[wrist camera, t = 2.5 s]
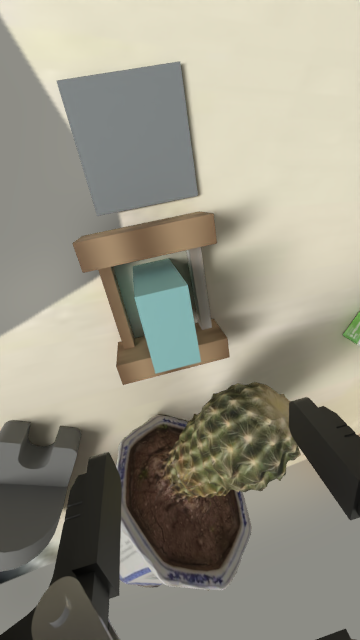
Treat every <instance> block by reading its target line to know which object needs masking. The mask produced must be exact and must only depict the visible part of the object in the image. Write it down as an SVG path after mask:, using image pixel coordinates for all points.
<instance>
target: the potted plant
mask: <svg viewBox="0 0 360 640" xmlns="http://www.w3.org/2000/svg"><path fill="white" fill-rule="evenodd" d="M289 403H290V401H289V400H288V399H286V398H285V396H284V394H278V393H277V392H275V391H274V390H273V389H271V388H270V387H269V386H267V385H264V384H260V383H257V382H254V383H251V384H249V385H242V384H239V383H237V384H236V385H232V386H230V387H229V388H228V389H227V390H225V391H222V392H219V393H217V394H213V396H212V399H211V400H210V401H209V402H208V403H207V404H206V405H205V406H203V408H202V411H201V413H200V414H198V415H196V414H194V416H193V419H192V420H190V421H189V422H186V421H184V420H178V419H176V418H173V417H168V416H163V415H156V416H154V417H152V418H150V419H149V420H148V421H147V422H146V423H144V424H143V425H142V426H140V427H138V428H137V429H135V430H133V431H132V432H131V433H130V434H129V435H128V436H127V437H125V438H124V439H123V440H122V442H121V443H120V444H119V447H118V459H117V464H116V468H117V470H118V472H119V475H120V479H121V486H122V499H121V540H120V580H121V581H122V582H124V583H126V584H131V585H138V586H143V587H158V586H160V585H161V584H163V583H164V584H166V585H168V586H176V587H188V588H194V589H203V590H207V591H209V590H224V589H225V588H226V587H227V586H229V585H230V583H231V581H232V580H233V578H234V576H235V574H236V573H237V570H238V567H239V564H240V561H241V558H242V555H243V552H244V550H245V548H246V545H247V543H248V541H249V538H250V535H251V529H252V527H251V523H250V518H249V514H248V510H247V507H246V503H245V498H244V495H243V493H242V492H246V491H248V490H251V489H252V490H258V491H262V490H263V489H264V488H265V487H267V484H268V483H269V482H270V481H272V480H274V479H278V480H279V481H280V480H281V479H282V477H283V476H284V475H285V474H286V464H287V462H288V461H289V460H295V459H296V458H297V457H299V456H300V455H301V454H300V451H299V448H298V445H297V443H296V442H295V440H294V439H293V437H292V435H291V432H290V429H289Z"/></svg>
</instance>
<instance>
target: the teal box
mask: <svg viewBox="0 0 360 640" xmlns="http://www.w3.org/2000/svg"><path fill="white" fill-rule="evenodd" d="M133 282H134V298H135V302H136V305H137V309H138V312H139V316H140V320H141V323H142V327H143V330H144V334H145V338H146V341H147V345H148V349H149V352H150V356H151V359H152V363H153V367H154V370H155V374H157V373H160V372H164V371H168V370H172V369H176V368H180V367H184V366H187V365H191V364H195V363H199V362H201V358H200V353H199V347H198V341H197V335H196V330H195V324H194V318H193V312H192V306H191V301H190V295H189V289H188V285H187V283H186V282H185V280H184V279H183V278H182V276H181V275H180V273H179V272H178V271H177V269H176V268H175V266H174V265H173V263H172V262H171V261H170V259H169V258H168V259H164V260H159V261H155V262H150V263H146V264H141V265H137V266H133Z"/></svg>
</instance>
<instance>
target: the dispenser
mask: <svg viewBox="0 0 360 640" xmlns="http://www.w3.org/2000/svg"><path fill="white" fill-rule="evenodd" d="M216 243H217V240H216V231H215V222H214V214H213V213H205V212H195V213H190V214H186V215H181V216H176V217H171V218H166V219H162V220H157V221H152V222H147V223H142V224H138V225H133V226H128V227H123V228H119V229H114V230H109V231H104V232H99V233H95V234H90V235H85V236H82V237H80V238H79V239H78V240H76V241H75V242H73V246H74V249H75V252H76V255H77V257H78V260H79V263H80V266H81V269H82V272H89V271H93V270H99V273H100V276H101V279H102V282H103V286H104V289H105V292H106V295H107V298H108V301H109V304H110V307H111V310H112V313H113V316H114V319H115V322H116V325H117V328H118V331H119V334H120V337H121V340H122V342H118V351H117V364H116V367H117V370H118V372H119V375H120V378H121V381H122V384H123V385H125V384H129V383H132V382H136V381H140V380H144V379H148V378H152V377H155V376H159V375H163V374H167V373H171V372H175V371H178V370H182V369H186V368H190V367H194V366H198V365H201V364H205V363H209V362H213V361H217V360H221V359H224V358H228V357H229V348H228V339H227V337H226V335H225V334H224V333H223V331H222V330H221V328H220V327H219V326H218V324H217V323H216V322H215V320H214V319H211V316H210V309H209V302H208V295H207V287H206V280H205V273H204V266H203V259H202V252H201V247H202V246H207V245H211V244H216ZM184 250H186V253H187V259H188V265H189V271H190V277H191V283H192V289H193V295H194V301H195V307H196V313H197V319H198V323H195V330H196V335H197V341H198V347H199V353H200V358H201V362H199V363H195V364H191V365H187V366H184V367H180V368H176V369H172V370H168V371H164V372H160V373H157V374H155V370H154V367H153V363H152V359H151V356H150V352H149V349H148V345H147V341H146V338H145V336H142V337H138V338H134V335H133V332H132V329H131V325H130V322H129V319H128V315H127V312H126V309H125V305H124V302H123V299H122V295H121V292H120V289H119V285H118V282H117V279H116V275H115V272H114V269H113V266H116V265H121V264H125V263H130V262H134V261H139V260H143V259H148V258H152V257H157V256H161V255H166V254H171V253H175V252H180V251H184Z"/></svg>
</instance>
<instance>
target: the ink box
mask: <svg viewBox="0 0 360 640" xmlns="http://www.w3.org/2000/svg"><path fill="white" fill-rule="evenodd" d="M343 336H345V337H346V338H348V339H349V340H351V341H353V342H354V343H356V344H357V345H359V346H360V312H359V313H358V314H357V316H356V317H355V318H354V320H353V321H352V323H351V324H350V325H349V327H348V328H347V330H346V331H345V332H344V334H343Z"/></svg>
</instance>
